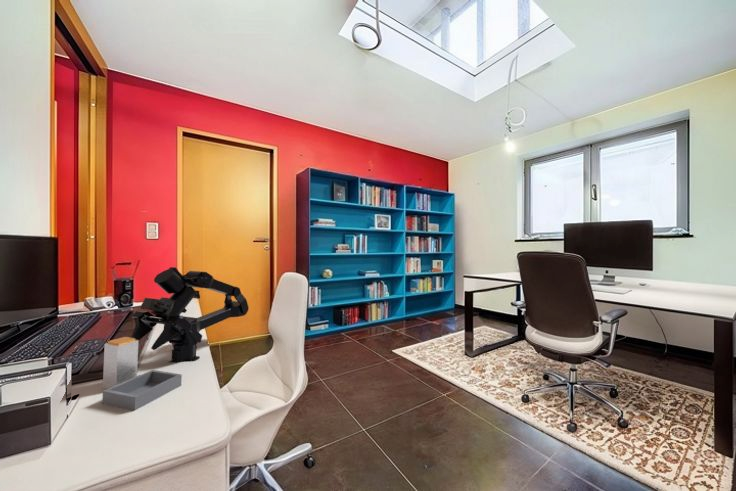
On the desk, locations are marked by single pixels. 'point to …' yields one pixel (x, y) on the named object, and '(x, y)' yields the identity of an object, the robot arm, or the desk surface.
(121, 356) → the block
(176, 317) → the robot arm
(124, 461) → the desk surface
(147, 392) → the case
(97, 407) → the desk surface
